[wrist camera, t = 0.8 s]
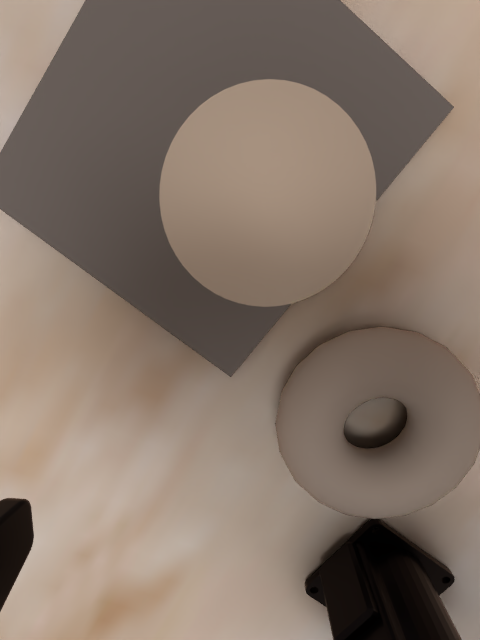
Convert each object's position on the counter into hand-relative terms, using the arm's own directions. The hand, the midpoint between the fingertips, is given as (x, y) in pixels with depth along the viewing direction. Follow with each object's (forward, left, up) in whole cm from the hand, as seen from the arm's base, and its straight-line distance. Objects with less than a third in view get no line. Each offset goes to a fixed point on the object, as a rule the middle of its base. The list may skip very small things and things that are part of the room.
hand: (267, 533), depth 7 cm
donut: (-4, -5, -11) cm, 13 cm away
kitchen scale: (+7, -6, -13) cm, 16 cm away
